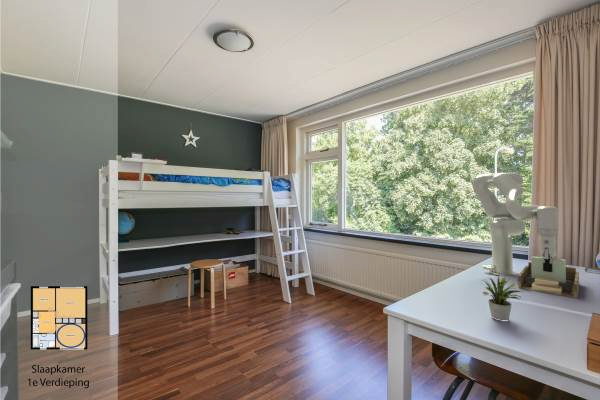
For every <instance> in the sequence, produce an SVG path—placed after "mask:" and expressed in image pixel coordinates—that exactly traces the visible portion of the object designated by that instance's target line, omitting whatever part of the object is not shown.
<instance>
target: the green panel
mask: <svg viewBox="0 0 600 400" xmlns="http://www.w3.org/2000/svg"><path fill="white" fill-rule="evenodd" d="M549 259H550V258H549ZM530 261H531V276H532V278H543V279H550V280H557V281H559V282H564V283H566V267H567V265H566V264H567V263H566V259H565V258H564V259H563V258H556V257H554V258H553V257H552V258H551V264H552V272H546V271H543V256H536V255H532V256H531V257H530Z"/></svg>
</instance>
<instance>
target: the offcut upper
mask: <svg viewBox="0 0 600 400" xmlns="http://www.w3.org/2000/svg"><path fill="white" fill-rule="evenodd" d="M535 285H538V286H545V287H551V288H557V289H558V288H559V281H557V280H550V279H543V278H535Z"/></svg>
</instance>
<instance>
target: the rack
mask: <svg viewBox="0 0 600 400" xmlns="http://www.w3.org/2000/svg"><path fill="white" fill-rule="evenodd" d="M517 282H520V283H517V286H519V287H517V288H518V289H521V290H526V291H533V292H538V293H541V292H540V291H535V290H532V284H533V282H535V278H532V276H531V262H530V261H528V264H527V265H525V267H524V268H523V269H522V270H521V271H520V273H519V274H518V275H517ZM559 286H562V295H558V294H552V293H548V294H549V295H556V296H560V297H561V296H562V297H567V298H571V299H572V298H573V299H578V297H579V296H578V295H579V288H580V272H579V271H577V268H576V267H571V266H566V283H564V282H559ZM542 293H543V294H547V293H546V292H542Z"/></svg>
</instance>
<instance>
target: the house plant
mask: <svg viewBox="0 0 600 400" xmlns="http://www.w3.org/2000/svg"><path fill="white" fill-rule="evenodd" d="M487 279H489V280H490V282H491V283H492V285H491V284H490V283H489V282H488V280H487ZM487 279H480V281H482V282H484V283H485V284H486V285H487V286H485V287H484V288H485V289H486V290H488V291H489V292H490V293H489V292H487V291H483V292H482V293H481V294H482V295H483V296H489V297H491V298H490V299H488V306H489V310H490V311H489V312H490V316H491V318H492V317H494V318H496V319H500V320H509V321H510V317H511V315H510V314H511V310H512V302H510V301H508V300H510V299H515V300H516V299H517V300H519V301H521V300H520V299H522V296H520V295H518V294H513V293H523V291H522V290H512V288H514V289H517V288H518V287H519V286H518V283H520V282H518V281H517V282H514V283H512V284H510V285H509V286H508V287H506V288H505V285H506V284H507V283H508V282H509V281H510V280H511V279H512V277H510V278H508V279H507V280H506V277H505V276H504V277H502V279H501V280H500V275H497V281H496V282H495V281H494V279H493V278H491V277H487ZM496 283H497V284H496ZM492 286H493V287H492ZM516 287H517V288H516ZM504 288H505V289H504Z"/></svg>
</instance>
